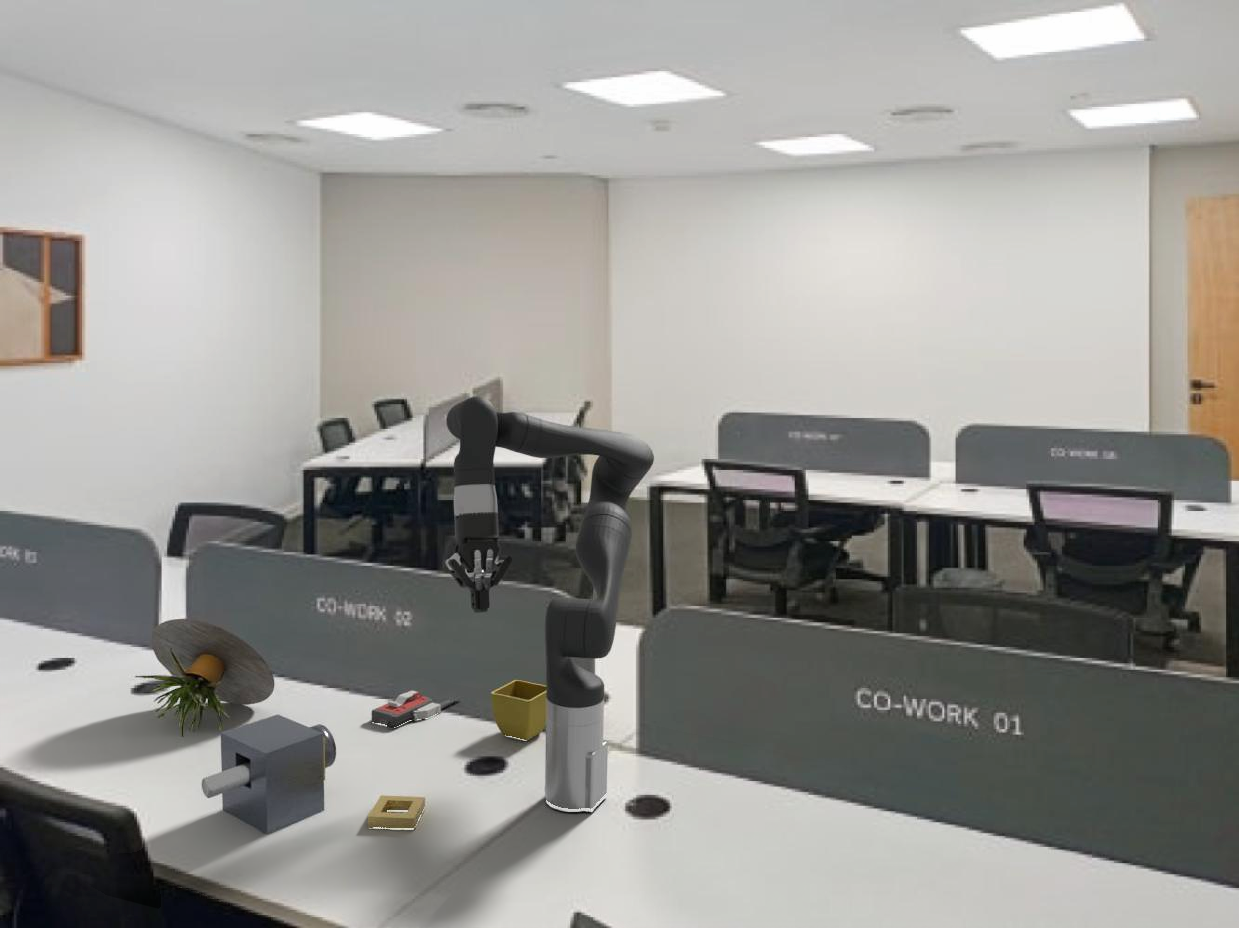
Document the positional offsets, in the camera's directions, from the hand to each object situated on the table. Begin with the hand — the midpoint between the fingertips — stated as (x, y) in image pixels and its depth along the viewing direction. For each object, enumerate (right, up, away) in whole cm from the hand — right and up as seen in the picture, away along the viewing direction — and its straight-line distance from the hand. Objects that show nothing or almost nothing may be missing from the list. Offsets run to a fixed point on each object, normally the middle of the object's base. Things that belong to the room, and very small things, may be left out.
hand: (480, 612), depth 169 cm
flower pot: (+6, -26, +15) cm, 30 cm away
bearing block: (-30, -28, -16) cm, 44 cm away
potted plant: (-56, -24, +19) cm, 63 cm away
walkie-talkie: (-16, -24, +25) cm, 39 cm away
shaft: (-30, -24, -18) cm, 43 cm away
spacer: (-10, -29, -18) cm, 36 cm away
